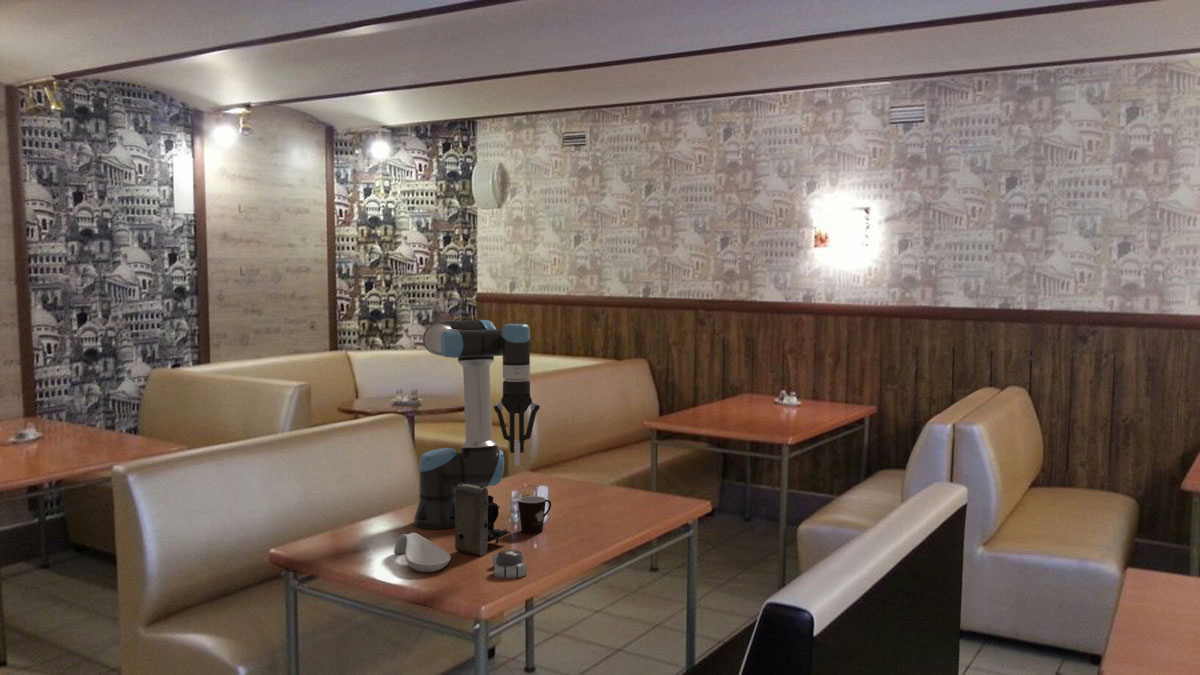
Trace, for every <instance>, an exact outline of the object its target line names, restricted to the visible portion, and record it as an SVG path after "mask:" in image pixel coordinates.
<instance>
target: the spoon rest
mask: <svg viewBox="0 0 1200 675" xmlns="http://www.w3.org/2000/svg"><path fill="white" fill-rule="evenodd" d="M394 545H395V546H394V549H393V550H394V551H393V554H395V555H402V554H404V555H405V559H406V562H407V563H408V565H409V567H411V569H413V570H415V571H417V572H420V573H432V572H433V573H434V572H436V571H440V570H442V569H443V568H444V567H446V565H448V564H449V563H450V560H451V558H452V557H451V554H450V553H449V552H448V551H447V550H445V549H444V548H442V547H440V546H438V545H437V544H435V543H433V542H431V541H430V540H429V539H427V538H425V537H423V536H422V535H420V534H418V533H416V532H410V533H408V534H405V533H403V534H401V535H400V536H399V537H398V538H397V540H396V542H395V544H394Z"/></svg>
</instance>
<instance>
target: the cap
mask: <svg viewBox="0 0 1200 675" xmlns="http://www.w3.org/2000/svg"><path fill="white" fill-rule="evenodd" d="M522 554H523V553H522V551H520V550H515V549H508V550H506V549H505V550H502V551H499V552H497V555H498V564H502V565H515V564H519V563H522Z"/></svg>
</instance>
